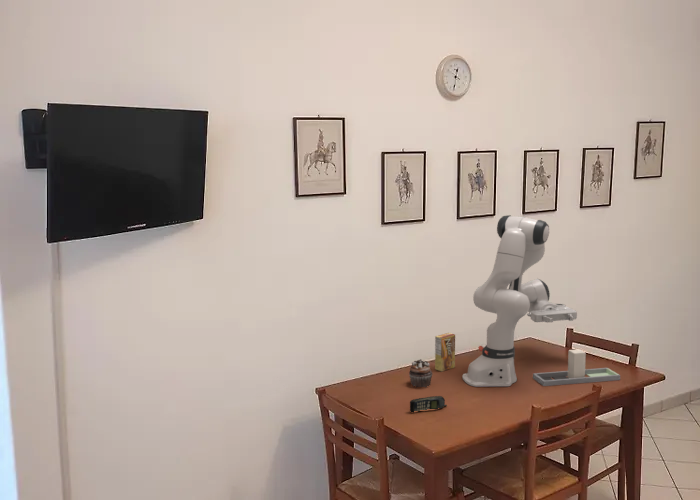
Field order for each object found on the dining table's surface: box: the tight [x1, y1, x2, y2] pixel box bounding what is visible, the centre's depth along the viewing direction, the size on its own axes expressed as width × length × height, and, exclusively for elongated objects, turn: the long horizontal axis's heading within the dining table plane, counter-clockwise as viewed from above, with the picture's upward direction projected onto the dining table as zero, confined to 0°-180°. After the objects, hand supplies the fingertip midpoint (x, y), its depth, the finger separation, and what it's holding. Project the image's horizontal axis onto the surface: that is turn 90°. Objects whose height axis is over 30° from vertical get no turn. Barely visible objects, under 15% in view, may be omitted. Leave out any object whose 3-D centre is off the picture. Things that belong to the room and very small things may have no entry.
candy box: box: [434, 332, 456, 372], centre depth 293 cm, size 9×4×15 cm, turn 129°
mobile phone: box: [409, 395, 448, 413], centre depth 248 cm, size 5×3×15 cm
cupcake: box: [408, 359, 433, 388], centre depth 274 cm, size 10×10×10 cm
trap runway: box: [532, 367, 621, 387], centre depth 278 cm, size 34×10×2 cm, turn 100°
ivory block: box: [567, 348, 587, 379], centre depth 277 cm, size 5×5×12 cm
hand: (561, 319), depth 289 cm, fingers open, 8 cm apart
